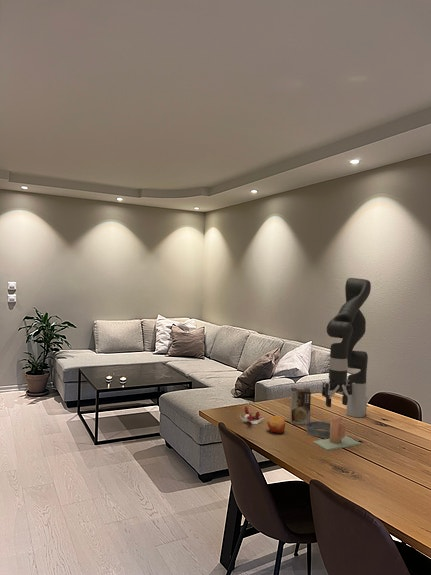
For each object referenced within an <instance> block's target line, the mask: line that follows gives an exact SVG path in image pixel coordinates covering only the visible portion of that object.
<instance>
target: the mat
mask: <svg viewBox="0 0 431 575" xmlns="http://www.w3.org/2000/svg"><path fill="white" fill-rule="evenodd" d="M329 440H330V438H323V439H317V440H313V441H312V442H313V444H315V445H317V446H318V447H320V448H322V449H323V450H325V451H331V450H337V449H344V448H350V447H355V446H360V445H362V443H361V442H359V441H357V440H355V439H353V438H351V437H349V436H347V435H345V437H344V438H342V442H341V443H339V444H336V443H332V442H330V441H329Z"/></svg>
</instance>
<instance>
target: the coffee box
mask: <svg viewBox="0 0 431 575" xmlns="http://www.w3.org/2000/svg"><path fill="white" fill-rule="evenodd" d="M290 389H291V390H290V393H291V394H290V418H289V420H290V424H292V425H305V426H307V423H309V422H311V400H312V398H311V397H312V391H311V389H310V388H309V387H308V388H307V387H291V388H290Z"/></svg>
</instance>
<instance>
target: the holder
mask: <svg viewBox="0 0 431 575" xmlns="http://www.w3.org/2000/svg"><path fill="white" fill-rule="evenodd" d="M305 426H306V427H305V428H306V433H307V434H308V435H310V436H312V437H316V438H321V439H322V438H323V439H330V422H326V421H322V420H321V421H318V420H317V421H316V420H313V421H310V422H309V423H307V425H305ZM321 429H322V430H321Z"/></svg>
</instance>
